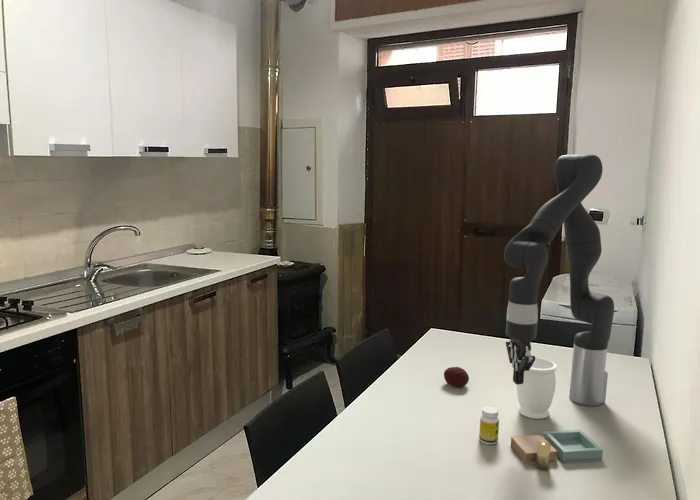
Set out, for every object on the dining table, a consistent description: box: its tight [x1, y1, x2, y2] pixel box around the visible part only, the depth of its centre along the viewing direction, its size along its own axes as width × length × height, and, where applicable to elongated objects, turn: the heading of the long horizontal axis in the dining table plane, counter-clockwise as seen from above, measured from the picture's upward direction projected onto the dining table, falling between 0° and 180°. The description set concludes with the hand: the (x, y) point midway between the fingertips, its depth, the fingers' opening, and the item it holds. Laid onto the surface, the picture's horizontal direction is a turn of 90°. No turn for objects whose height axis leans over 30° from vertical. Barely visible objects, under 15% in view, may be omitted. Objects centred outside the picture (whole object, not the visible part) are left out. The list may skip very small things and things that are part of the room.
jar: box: [516, 357, 558, 420], centre depth 157 cm, size 11×10×15 cm
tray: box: [543, 429, 604, 463], centre depth 137 cm, size 10×10×3 cm
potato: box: [443, 366, 470, 389], centre depth 176 cm, size 7×8×6 cm
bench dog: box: [535, 441, 551, 472], centre depth 129 cm, size 3×3×6 cm
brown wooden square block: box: [510, 434, 558, 464], centre depth 136 cm, size 8×8×3 cm
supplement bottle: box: [478, 406, 500, 446], centre depth 141 cm, size 5×5×8 cm
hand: (518, 382), depth 143 cm, fingers closed
